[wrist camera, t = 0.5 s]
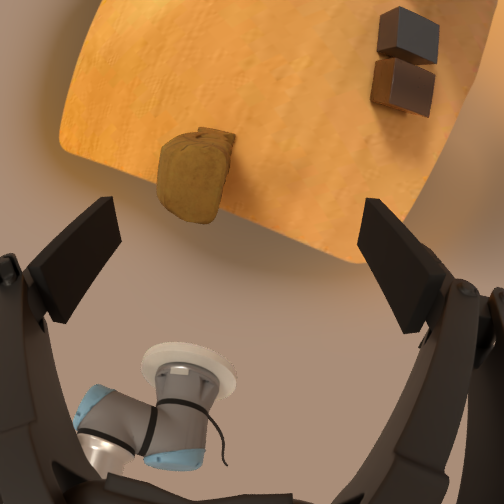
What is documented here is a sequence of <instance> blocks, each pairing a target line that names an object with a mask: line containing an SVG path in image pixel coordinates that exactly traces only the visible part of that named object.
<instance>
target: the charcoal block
mask: <svg viewBox="0 0 504 504" xmlns="http://www.w3.org/2000/svg"><path fill="white" fill-rule="evenodd" d="M438 45H439V25H438V24H436V23H434V22H432V21H430V20H428V19H426V18H424V17H422V16H420V15H418V14H416V13H414V12H412V11H409V10H407V9H405V8H403V7H400V6H399V7H397V8H395V9H392V10H390V11H388V12H386V13H384V14H382V15H380V24H379V35H378V45H377V51H378V52H381V53H383V54H386V55H389V56H392V57H394V58H398V59H401V60H403V61H406V62H408V63H411V64H413V65H427V64H437V57H438Z"/></svg>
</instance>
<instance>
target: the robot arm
mask: <svg viewBox="0 0 504 504" xmlns="http://www.w3.org/2000/svg"><path fill="white" fill-rule="evenodd" d="M121 242H122V240H121V236H120V231H119V227H118V222H117V217H116V212H115V207H114V202H113V197H112V196H111V197H101V198H99V199H98V200H97V201H96V202H94V203H93V204H92V205H91V206H90V207H88V208H87V209H86V210H85V211H84V212H83V213H82V214H80V215H79V216H78V217H77V218H76V219H75V220H74V221H73V222H71V223H70V224H69V225H68V226H67V227H66V228H65V229H64V230H63V231H62V232H61V233H60V234H59V235H58V236H56V237H55V238H54V239H53V240H52V241H51V242H50V243H49V244H48V245H47V246H46V247H45V248H44V249H43V250H42V251H41V252H40V253H39V254H38V255H37V257H36V258H35V259H34V260H33V261H32V262H31V263H30V264H29V265H28V266H27V268H26V269H25V270H24V271H23V272H22V271H21V268H20V266H19V264H18V261H17V258H16V256H15V254H13V253H9V254H6V255H3V256H1V257H0V504H313V503H310V502H306V501H302V500H296V499H293V495H292V493H289V494H257V495H256V494H250V495H249V494H243V495H238V496H232V497H226V498H219V499H211V500H202V501H192V500H188V499H186V498H183V497H180V496H178V495H175V494H173V493H170V492H168V491H166V490H163V489H161V488H159V487H156V486H154V485H152V484H150V483H147V482H143V481H139V480H135V479H131V478H127V477H123V476H122V474H123V469H124V465H125V464H127V463H129V462H131V461H133V460H134V456H135V454H138V455H141V456H143V457H144V459H143V460H144V462H145V464H146V465H148V466H151V467H153V468H157V469H162V470H170V471H192V470H196V469H198V468H199V467H201V466H202V463H203V458H204V453H205V443H206V433H207V423H208V419H209V420H210V421H211V422H212V423H213V425H214V426H215V427H216V429H217V431H218V432H219V434H220V437H221V440H222V461H223V463H224V464H225V465H226V466H228V465H227V463H226V462H225V460H224V448H225V442H224V437H223V434H222V432H221V430H220V428H219V427H218V425H217V424H216V423H215V421H214V420H213V419H212V418H211V417H210V416H209V414H208V413H209V410H210V408H211V407H212V405H213V403H214V401H215V399H216V397H217V395H218V393H219V387H220V382H219V379H218V378H217V376H216V375H215V374H214V373H212V372H211V371H209V370H208V369H206V368H204V367H201V366H199V365H196V364H192V363H187V362H169V363H165V364H162V365H161V366H159V367H158V369H157V371H156V375H155V386H156V395H157V404H156V407H154V406H151V405H149V404H146V403H144V402H141V401H138V400H136V399H134V398H131V397H129V396H127V395H124V394H122V393H120V392H118V391H116V390H115V389H110V388H107V387H105V386H103V385H99V384H96V385H94V386H92V387H91V388H90V389H89V390H88V392H87V393H86V395H85V396H84V398H83V399H82V402H81V403H80V405H79V407H78V411H77V412H76V415H75V417H74V420H73V423H72V420H71V418H70V415H69V412H68V409H67V406H66V403H65V399H64V396H63V393H62V389H61V386H60V382H59V378H58V375H57V371H56V367H55V362H54V359H53V353H52V349H51V344H50V338H49V334H48V327H47V323H46V320H45V319H44V317H43V316H44V315H45V314H46V312H47V311H48V313H49V315H50V317H51V319H52V320H53V322H58V323H63V324H66V323H67V322H68V320H69V318H70V317H71V315H72V313H73V312H74V310H75V309H76V307H77V305H78V304H79V302H80V301H81V299H82V298H83V296H84V295H85V293H86V291H87V290H88V289H89V287H90V286H91V284H92V282H93V281H94V280H95V278H96V277H97V275H98V274H99V272H100V271H101V270H102V268H103V267H104V265H105V264H106V262H107V261H108V260H109V258H110V257H111V256H112V254H113V253H114V251H115V250H116V249H117V247H118V246H119V245H120V243H121ZM357 246H358V247H359V249H360V251H361V253H362V254H363V256H364V258H365V260H366V262H367V263H368V265H369V267H370V269H371V271H372V272H373V274H374V276H375V278H376V280H377V282H378V284H379V285H380V287H381V289H382V291H383V293H384V295H385V297H386V299H387V301H388V303H389V305H390V307H391V309H392V311H393V313H394V315H395V317H396V319H397V321H398V324H399V326H400V328H401V330H402V332H403V334H408V333H417V332H420V330H421V328H422V326H423V324H424V322H425V321H426V322H427V324H428V326H429V329H428V331H427V333H426V334H425V337H424V338H423V340H422V342H421V343H420V345H419V347H418V348H421V349H420V351H419V354H418V356H417V359H416V362H415V364H414V367H413V369H412V371H411V374H410V376H409V379H408V381H407V383H406V386H405V388H404V390H403V392H402V394H401V396H400V398H399V400H398V403H397V405H396V407H395V409H394V411H393V413H392V415H391V417H390V419H389V420H388V422H387V424H386V426H385V428H384V430H383V431H382V433H381V435H380V437H379V438H378V440H377V442H376V444H375V445H374V447H373V449H372V450H371V452H370V454H369V455H368V457H367V458H366V460H365V461H364V463H363V465H362V466H361V468H360V469H359V471H358V472H357V474H356V475H355V476H354V478H353V479H352V480H351V482H350V483H349V484H348V485H347V486H346V487H345V488H344V489H343V490H342V491H341V492H340V493H339V495H338V496H337V497H336V498H335V499H334V500H333V502H332V503H331V504H441V503H442V501H443V499H444V496H445V494H446V492H447V489H448V486H449V477H448V476H447V475H446V474H445V473H444V469H445V466H446V463H447V460H448V458H449V455H450V452H451V450H452V447H453V444H454V441H455V438H456V435H457V432H458V428H459V425H460V421H461V418H462V415H463V411H464V407H465V403H466V399H467V394H468V421H467V438H466V449H465V458H464V466H463V472H462V478H461V484H460V489H459V494H458V499H457V503H456V504H504V289H503V288H499V287H497V288H494V290H493V291H492V293H491V295H490V297H486V296H481V295H480V294H479V291H478V290H477V288H476V287H475V286H474V285H473V284H471V283H469V282H468V281H466V280H463V279H455V278H454V277H453V275H452V274H451V273H450V271H449V270H448V269H447V268H446V267H445V265H444V264H443V263H442V262H441V261H440V260H439V258H437V256H436V255H435V254H434V252H433V251H432V250H431V249H429V248H428V247H427V246H425V245H424V244H422V243H420V242H419V241H418V239H417V238H416V237H415V236H414V235H413V234H412V233H411V232H410V231H409V230H408V228H406V226H405V225H404V224H403V223H402V222H401V221H400V220H399V219H398V218H397V217H396V216H395V214H394V213H393V212H392V211H391V210H390V209H389V208H388V207H387V206H386V205H385V204H384V203H383V202H382V201H381V200H380V199H375V198H366V201H365V206H364V212H363V217H362V223H361V228H360V233H359V238H358V242H357ZM495 341H496V342H495ZM494 342H495V345H493V344H494ZM74 428H75V429H74ZM75 430H77V431H78V432H77V434H76V432H75Z"/></svg>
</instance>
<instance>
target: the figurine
mask: <svg viewBox="0 0 504 504" xmlns="http://www.w3.org/2000/svg"><path fill="white" fill-rule="evenodd" d="M234 139H235V134H233V133H228V132H224V131H220V130H215V129H210V128H204V127H199V129H198V132H193V133H185V134H182V135H179V136H177V137H175V138H173V139H172V140H170V141H169V142H167V143H166V144H165V145H164V146H163V147H162V149H161V154H160V160H159V166H158V175H157V196H158V198H159V200H160V202H161V204H162V205H163V206H164V207H165V208H166V209H167V210H168V211H170V212H171V213H173V214H174V215H176V216H177V217H179V218H180V219H182V220H184V221H187V222H194V223H199V224H209V223H211V222H212V221H213V220H214V218H215V217H216V215H217V212H218V208H219V204H220V200H221V196H222V190H223V186H224V184H225V181H226V177H227V174H228V172H229V168H230V155H231V147H232V146H233V143H234Z"/></svg>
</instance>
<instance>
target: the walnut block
mask: <svg viewBox="0 0 504 504" xmlns="http://www.w3.org/2000/svg"><path fill="white" fill-rule="evenodd" d="M434 83H435V74H433V73H431V72H429V71H427V70H424V69H422V68H420V67H418V66H415V65H413V64H411V63H408V62H406V61H403V60H401V59H398V58H389V59H384V60H378V61H376V62H375V70H374V77H373V84H372V90H371V97H370V101H373V102H376V103H379V104H383V105H386V106H389V107H392V108H395V109H398V110H401V111H404V112H407V113H411V114H415V115H420V116H424V117H428V118H429V114H430V109H431V103H432V97H433V90H434Z"/></svg>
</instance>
